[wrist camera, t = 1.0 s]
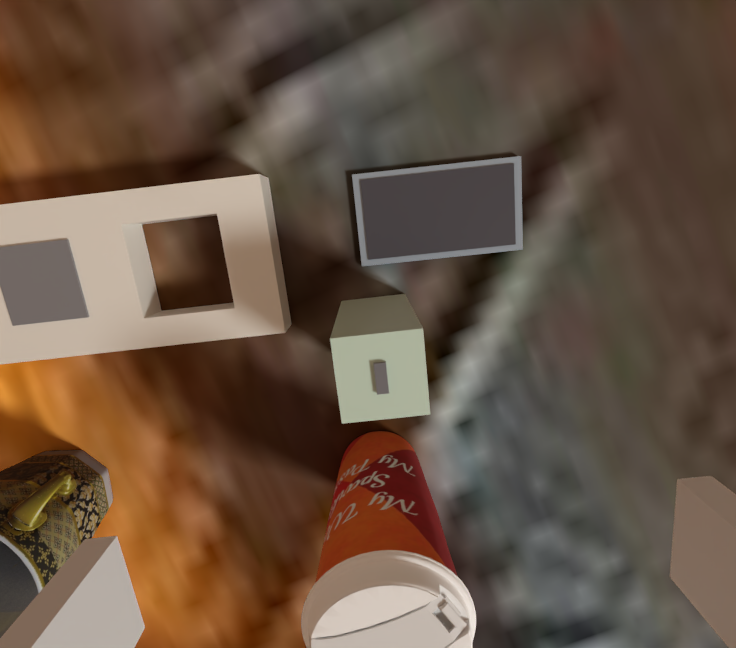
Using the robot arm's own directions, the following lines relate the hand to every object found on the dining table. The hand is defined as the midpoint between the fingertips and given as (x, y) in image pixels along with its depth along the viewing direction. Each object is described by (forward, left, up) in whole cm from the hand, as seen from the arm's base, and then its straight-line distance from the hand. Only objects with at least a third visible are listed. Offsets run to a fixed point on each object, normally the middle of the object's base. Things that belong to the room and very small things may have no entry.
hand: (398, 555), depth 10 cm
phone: (+8, -5, -22) cm, 24 cm away
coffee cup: (-11, +1, -22) cm, 24 cm away
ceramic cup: (-9, +24, -22) cm, 33 cm away
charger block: (0, 0, -21) cm, 21 cm away
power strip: (+6, +17, -21) cm, 28 cm away
